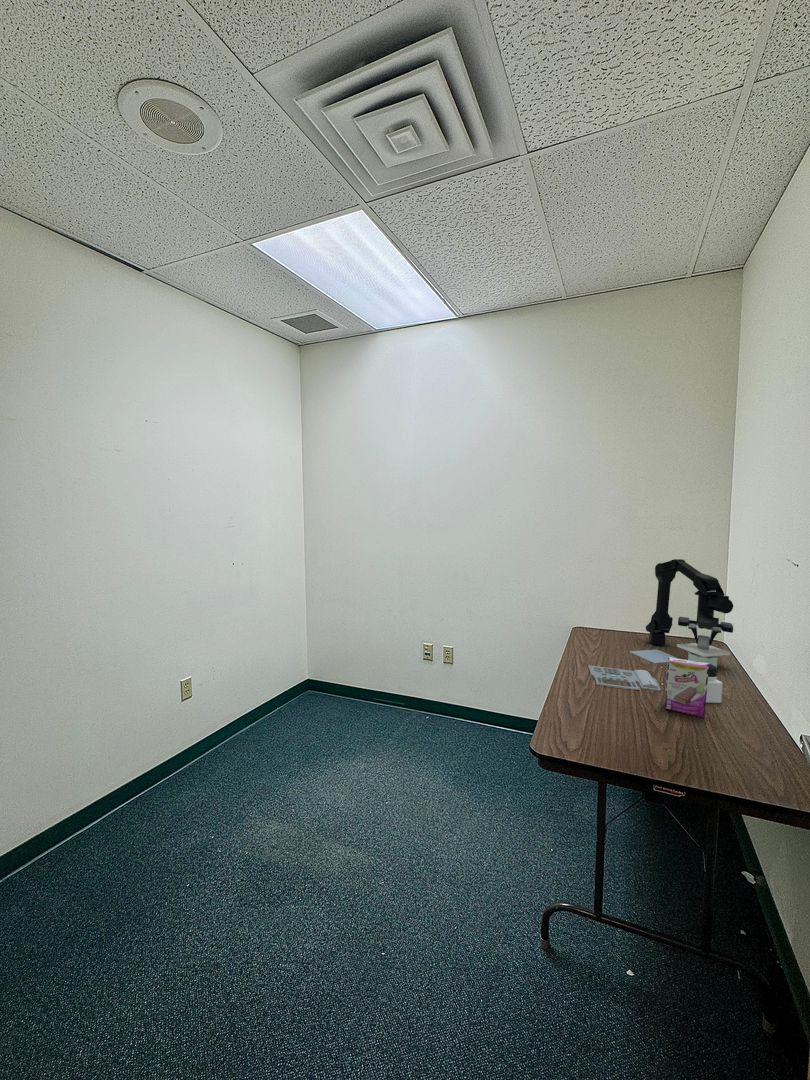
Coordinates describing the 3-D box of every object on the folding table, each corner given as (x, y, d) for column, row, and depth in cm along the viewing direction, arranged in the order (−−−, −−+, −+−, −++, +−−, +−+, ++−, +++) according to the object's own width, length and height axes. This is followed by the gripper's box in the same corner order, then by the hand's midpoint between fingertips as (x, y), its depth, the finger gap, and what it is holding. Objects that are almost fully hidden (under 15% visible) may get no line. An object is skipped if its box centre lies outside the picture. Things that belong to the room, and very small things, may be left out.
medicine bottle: (721, 703, 150) (724, 668, 149) (700, 702, 150) (702, 668, 149) (707, 694, 157) (710, 661, 156) (687, 693, 157) (689, 660, 156)
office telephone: (652, 669, 176) (665, 689, 156) (651, 676, 176) (664, 696, 157) (588, 661, 182) (593, 679, 163) (588, 668, 183) (593, 686, 164)
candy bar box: (664, 710, 144) (667, 660, 143) (664, 704, 148) (667, 656, 147) (705, 719, 139) (709, 667, 137) (704, 712, 143) (708, 662, 142)
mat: (628, 652, 202) (628, 651, 202) (657, 650, 205) (657, 649, 205) (653, 664, 187) (653, 662, 187) (684, 661, 190) (684, 660, 190)
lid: (676, 646, 190) (677, 632, 190) (702, 645, 193) (703, 631, 192) (703, 656, 177) (704, 642, 177) (730, 654, 180) (731, 640, 180)
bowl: (682, 662, 189) (682, 650, 189) (701, 661, 192) (702, 649, 191) (702, 671, 180) (703, 658, 179) (722, 669, 182) (723, 657, 181)
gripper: (678, 608, 182) (676, 645, 183) (735, 614, 172) (732, 654, 173) (679, 603, 191) (677, 639, 193) (733, 609, 181) (730, 646, 183)
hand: (703, 644), depth 185 cm, fingers closed on lid, 4 cm apart
